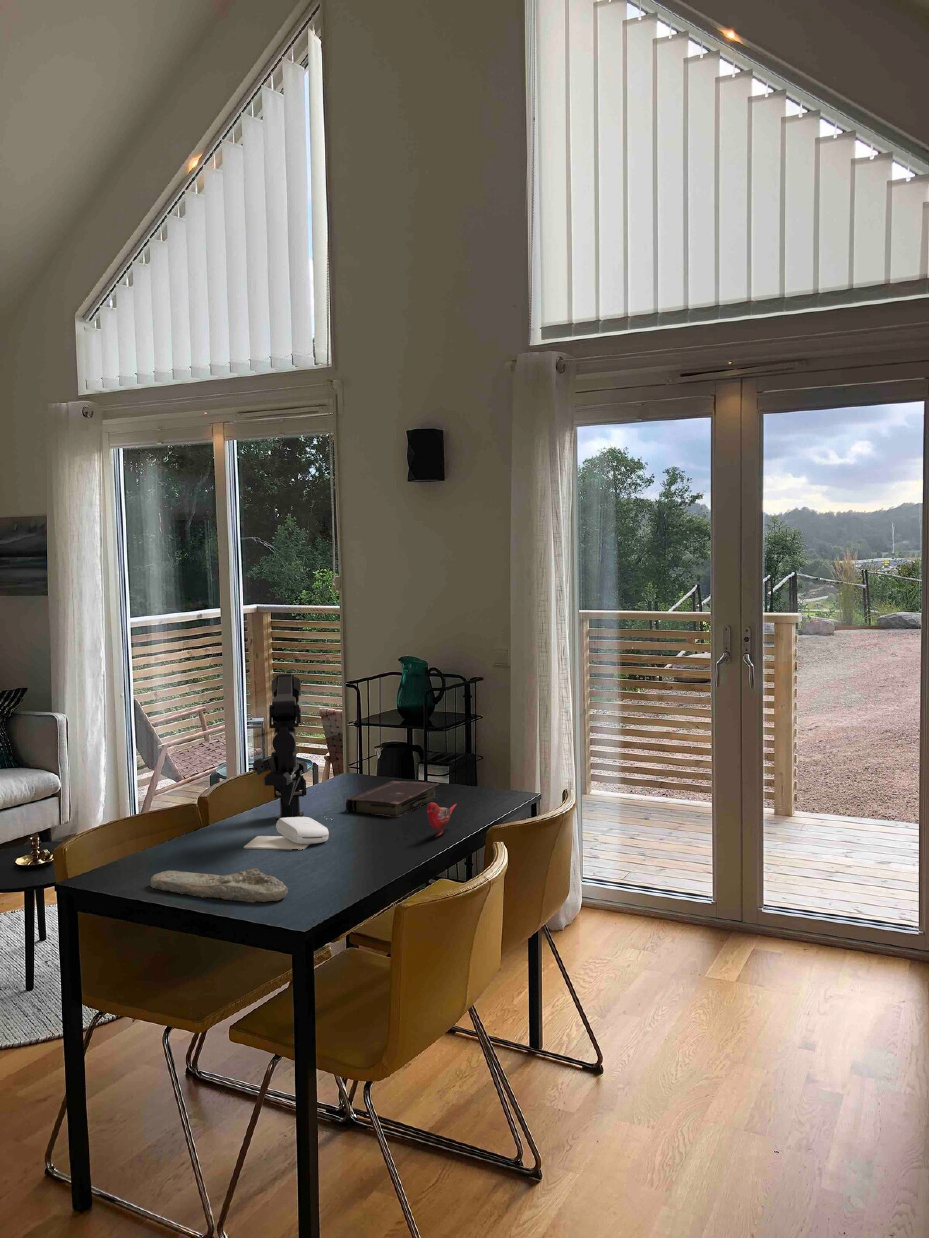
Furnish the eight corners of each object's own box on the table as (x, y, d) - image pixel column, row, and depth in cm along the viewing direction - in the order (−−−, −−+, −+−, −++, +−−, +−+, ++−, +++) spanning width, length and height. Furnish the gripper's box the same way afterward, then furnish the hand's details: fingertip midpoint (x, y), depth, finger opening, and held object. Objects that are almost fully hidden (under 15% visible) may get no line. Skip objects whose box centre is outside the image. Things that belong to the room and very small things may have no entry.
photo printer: (311, 815, 272) (333, 829, 262) (308, 830, 272) (330, 845, 262) (276, 816, 265) (298, 830, 256) (274, 832, 266) (295, 846, 256)
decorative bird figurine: (423, 841, 261) (422, 803, 261) (452, 824, 277) (452, 789, 277) (433, 843, 260) (432, 804, 259) (462, 825, 276) (461, 789, 275)
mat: (257, 837, 269) (257, 835, 269) (315, 838, 266) (315, 837, 266) (243, 848, 259) (243, 846, 259) (303, 849, 256) (303, 848, 256)
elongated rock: (168, 884, 237) (141, 900, 227) (165, 862, 236) (138, 877, 227) (298, 891, 224) (274, 908, 215) (295, 868, 223) (271, 884, 214)
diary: (345, 814, 294) (344, 797, 294) (390, 795, 316) (389, 779, 316) (399, 819, 285) (399, 802, 285) (442, 799, 308) (441, 783, 307)
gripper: (268, 740, 278) (270, 796, 279) (243, 753, 259) (245, 813, 260) (307, 740, 276) (308, 796, 277) (284, 753, 258) (286, 813, 259)
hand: (287, 804), depth 268 cm, fingers closed
